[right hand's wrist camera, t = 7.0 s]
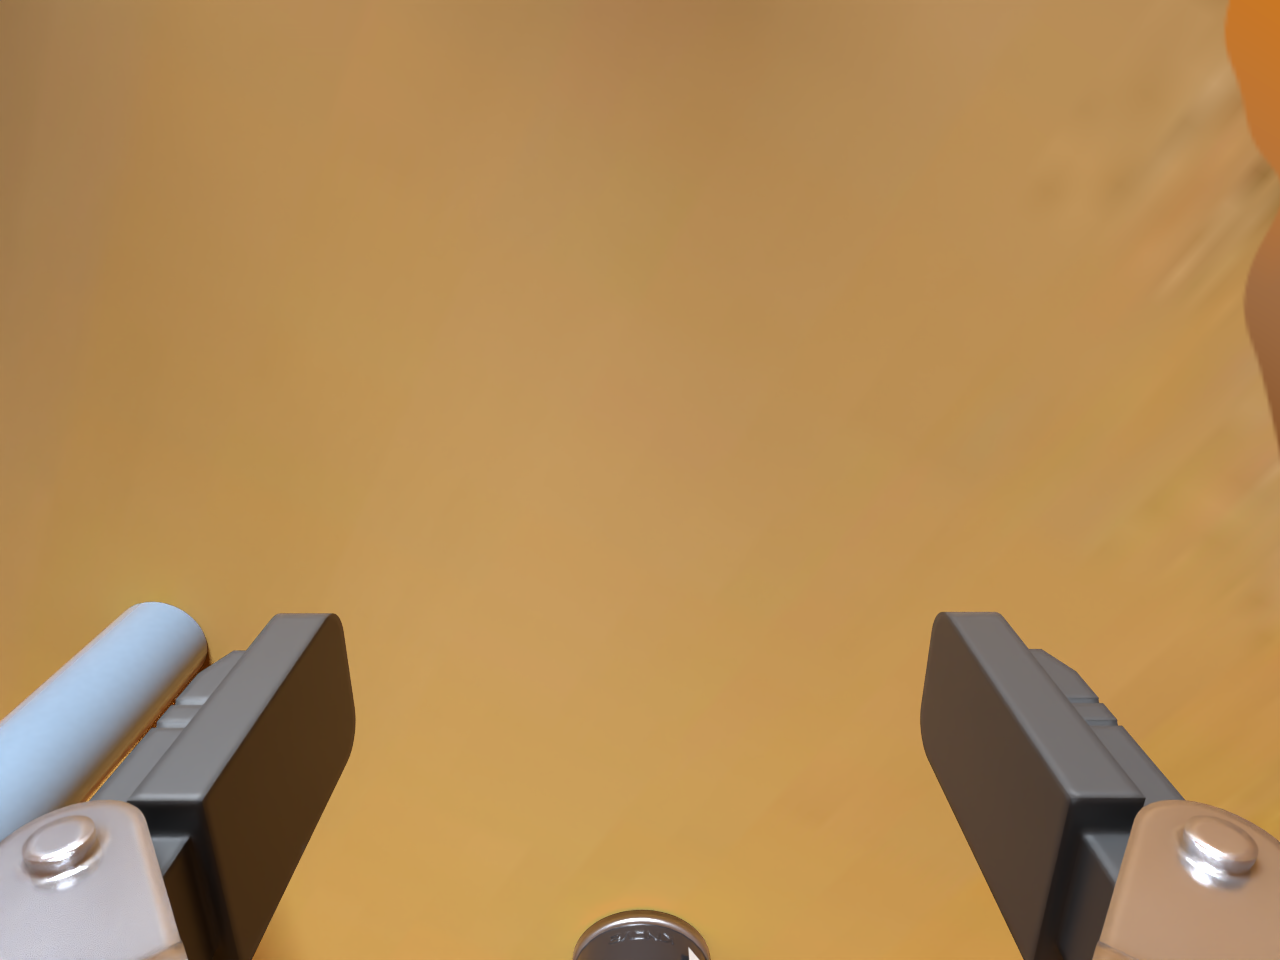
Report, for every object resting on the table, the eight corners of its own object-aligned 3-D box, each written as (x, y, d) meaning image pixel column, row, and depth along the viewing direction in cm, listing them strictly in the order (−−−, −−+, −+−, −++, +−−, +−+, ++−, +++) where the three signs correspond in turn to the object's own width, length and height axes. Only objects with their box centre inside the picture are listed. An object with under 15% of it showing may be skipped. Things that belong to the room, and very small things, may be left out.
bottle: (187, 694, 50) (-137, 1078, 29) (101, 653, 49) (-297, 1020, 28) (221, 629, 49) (-94, 987, 28) (134, 585, 48) (-262, 922, 27)
